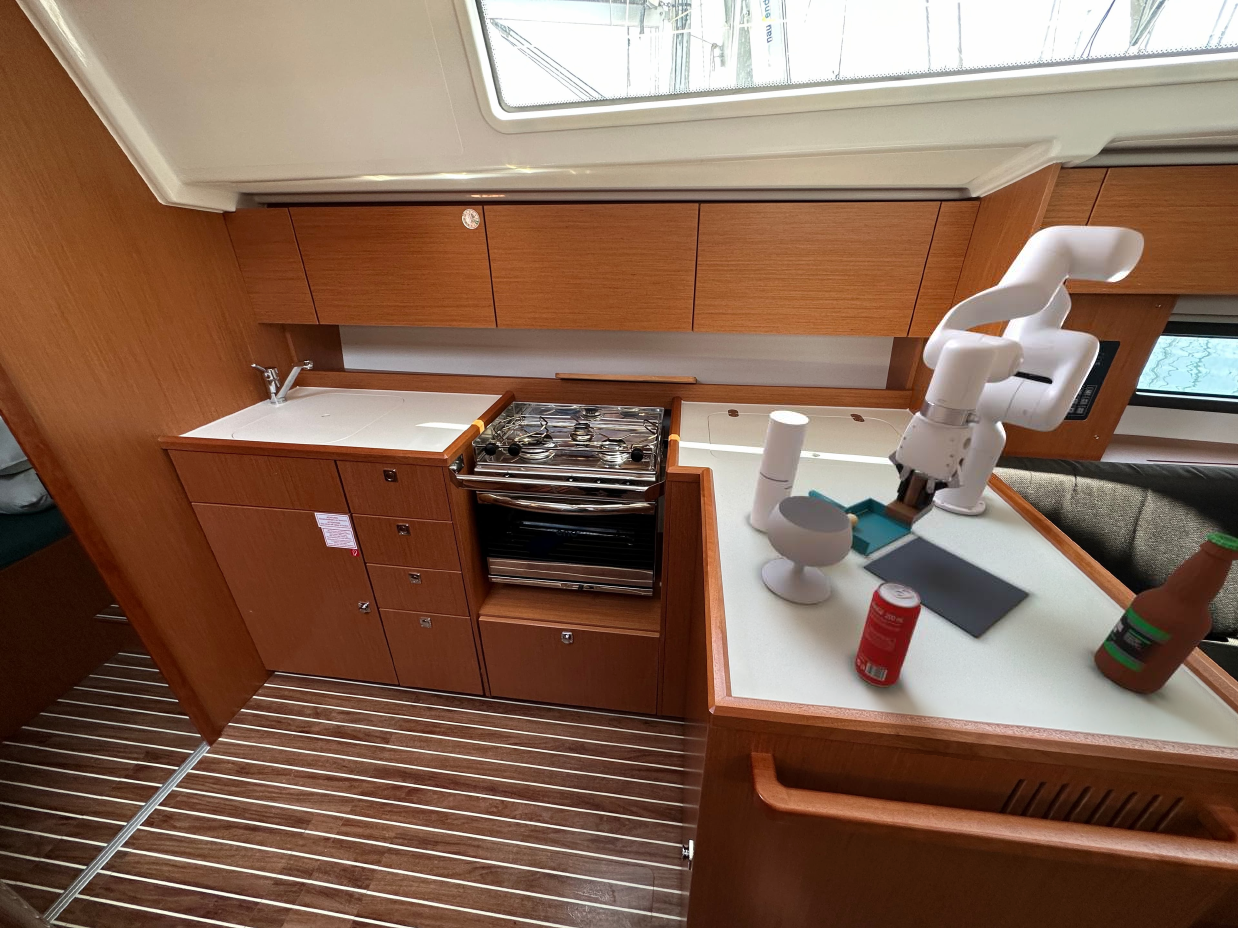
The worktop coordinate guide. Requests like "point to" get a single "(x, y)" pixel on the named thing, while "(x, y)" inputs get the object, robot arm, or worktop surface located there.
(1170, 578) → the bottle
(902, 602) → the beverage can
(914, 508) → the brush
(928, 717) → the worktop surface
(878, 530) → the dustpan
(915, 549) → the mat
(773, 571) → the chalice
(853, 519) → the crumb
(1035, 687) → the worktop surface
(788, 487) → the cylindrical container
